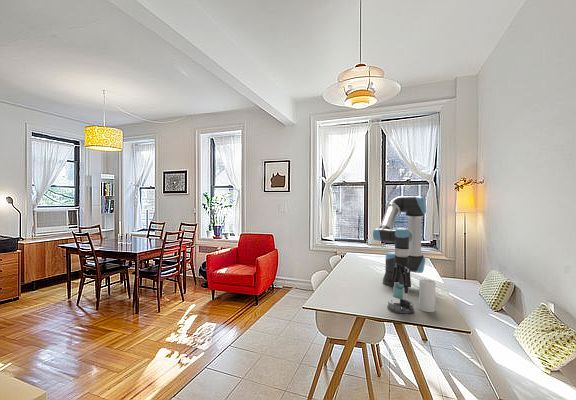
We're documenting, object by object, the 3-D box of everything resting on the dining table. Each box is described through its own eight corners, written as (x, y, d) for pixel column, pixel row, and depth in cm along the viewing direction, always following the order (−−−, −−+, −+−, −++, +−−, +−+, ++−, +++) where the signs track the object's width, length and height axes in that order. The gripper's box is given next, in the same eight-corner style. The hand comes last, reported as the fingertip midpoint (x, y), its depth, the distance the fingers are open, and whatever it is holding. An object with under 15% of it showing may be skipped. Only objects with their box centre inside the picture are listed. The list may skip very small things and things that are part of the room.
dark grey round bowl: (404, 304, 170) (405, 297, 170) (419, 313, 156) (419, 306, 156) (382, 305, 168) (383, 298, 167) (395, 314, 154) (395, 307, 154)
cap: (402, 293, 166) (402, 283, 166) (411, 298, 159) (411, 288, 159) (390, 294, 165) (390, 284, 164) (398, 299, 157) (399, 288, 157)
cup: (416, 306, 166) (416, 279, 166) (429, 306, 167) (430, 279, 167) (423, 312, 158) (424, 283, 158) (438, 312, 159) (438, 283, 158)
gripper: (386, 252, 171) (385, 290, 171) (406, 259, 151) (405, 303, 151) (397, 252, 172) (396, 290, 172) (419, 259, 152) (418, 302, 152)
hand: (400, 296), depth 162 cm, fingers closed on cap, 8 cm apart
